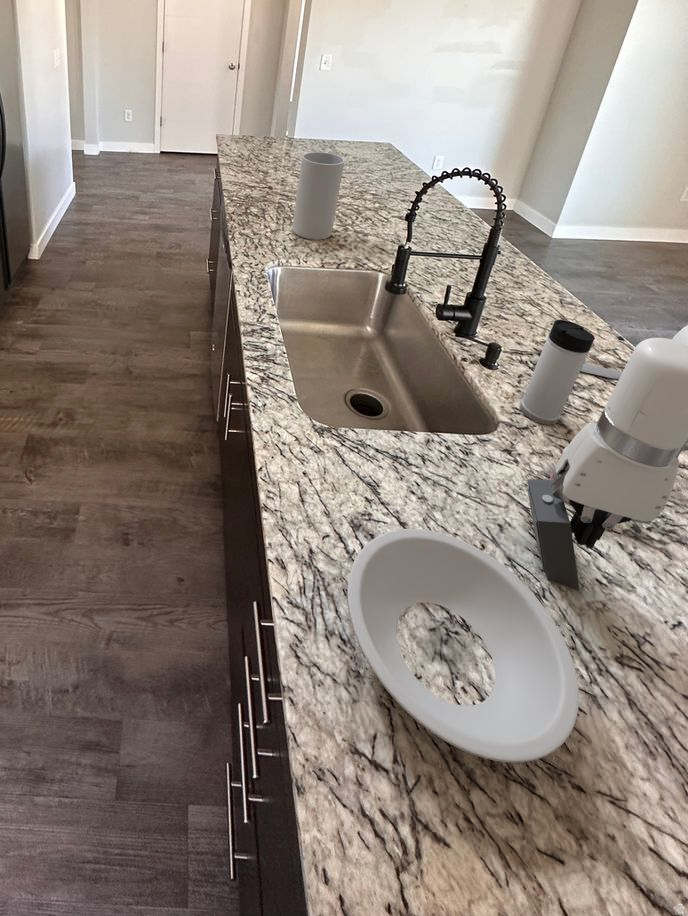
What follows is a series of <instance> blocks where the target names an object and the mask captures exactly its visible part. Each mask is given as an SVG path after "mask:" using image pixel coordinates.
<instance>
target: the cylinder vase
mask: <svg viewBox="0 0 688 916" xmlns="http://www.w3.org/2000/svg"><path fill="white" fill-rule="evenodd" d="M344 166H345V158H344V157H342V156H340V155H337V154H334V153H330V152H322V151H310V152H306V153H304V154H302V156H301V163H300V171H299V177H298V184H297V192H296V198H295V206H294V213H293V219H292V227H291V228H292V232H293V233H294V234H295V235H296V236H299V237H300V238H303V239H307V240H315V241H321V240H325V239H328V238H330V237H331V236H332V233H333V228H334V223H335V217H336V211H337V207H338V206H337V205H338V201H339V200H338V199H339V194H340V190H341V189H340V188H341V185H342V184H341V183H342V177H343V173H344Z"/></svg>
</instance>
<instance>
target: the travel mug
mask: <svg viewBox="0 0 688 916" xmlns="http://www.w3.org/2000/svg"><path fill="white" fill-rule="evenodd" d="M595 337H596V336H595V335H594V334H593V333H591V332H590V331H588V330H586V329H585V327H584V326H582V325H581V324H577V323H575V322H573V321H569V320H565V319H556V320H554V322H553V324H552V327H551V329H550V332H549V334H548V336H547V338H546V340H545V343H544V345H543V348H542V350H541V352H540V353H541V355H540V357H539V356H538V357H539V358H538V360H537V362H536V364H535V367H534V370H533V371H532V375H531V377H530V379H529V382H528V384H527V387H526V389H525V392H524V394H523V396H522V399H521V401H520V404H519V408H520V411H521V412H522V413H523V414H524V415H525V416H526V417H527V418H529V419H530V420H532V421H534V422H536V423H538V424H542V425H547V426H549V425H554V424H557V422H559V419H560V417H561V414H562V412H563V410H564V408H565V406H566V403H567V401H568V399H569V397H570V396H571V395H570V394H571V392H572V390H573V388H574V386H575V384H576V381H577V379H578V377H579V375H580V373H581V372H582V371H581V368H582V366H583V364H584V363H586V360H587V358H588V355H589V354H590V351H591V348H592V345H593V343H594V341H595V339H596V338H595Z"/></svg>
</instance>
